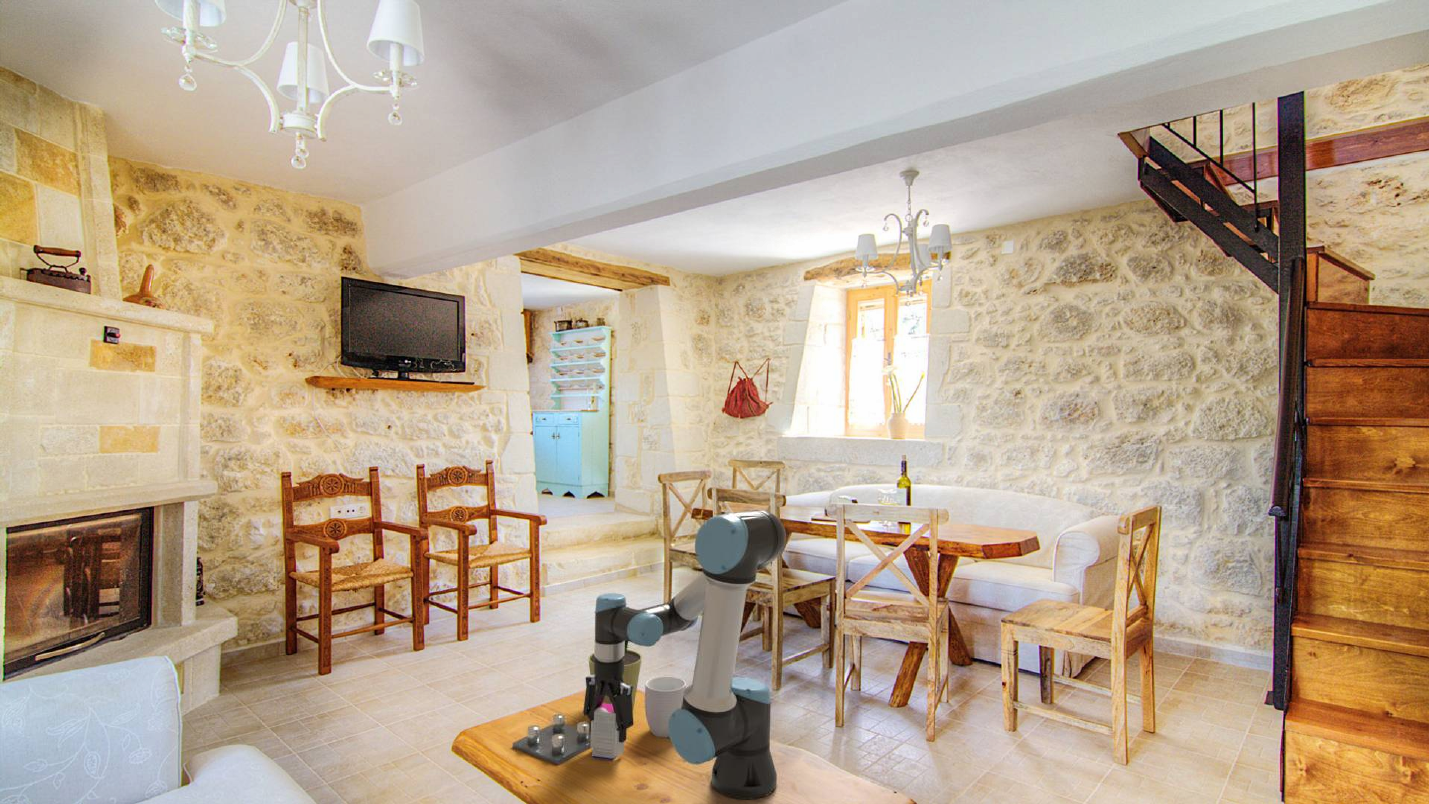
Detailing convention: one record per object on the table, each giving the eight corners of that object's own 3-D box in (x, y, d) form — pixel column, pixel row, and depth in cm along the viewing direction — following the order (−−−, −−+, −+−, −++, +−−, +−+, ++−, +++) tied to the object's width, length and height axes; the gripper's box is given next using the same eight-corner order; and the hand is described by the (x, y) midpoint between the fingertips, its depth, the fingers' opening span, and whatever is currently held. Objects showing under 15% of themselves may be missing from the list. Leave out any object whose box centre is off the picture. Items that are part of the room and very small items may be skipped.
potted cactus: (595, 696, 212) (597, 596, 212) (645, 699, 210) (647, 598, 211) (580, 718, 196) (582, 610, 197) (634, 721, 195) (636, 612, 195)
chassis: (602, 740, 183) (603, 723, 183) (557, 765, 169) (558, 746, 170) (558, 725, 192) (558, 708, 192) (512, 747, 178) (512, 729, 178)
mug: (695, 721, 196) (696, 674, 196) (703, 738, 185) (704, 688, 185) (641, 725, 192) (642, 677, 193) (646, 743, 182) (647, 692, 182)
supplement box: (614, 761, 172) (615, 713, 172) (591, 758, 173) (592, 711, 173) (622, 750, 178) (623, 704, 178) (599, 747, 179) (601, 702, 179)
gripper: (650, 661, 174) (648, 755, 173) (590, 645, 185) (587, 733, 184) (630, 670, 167) (628, 767, 167) (569, 653, 178) (567, 744, 178)
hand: (607, 749), depth 175 cm, fingers closed on supplement box, 7 cm apart
